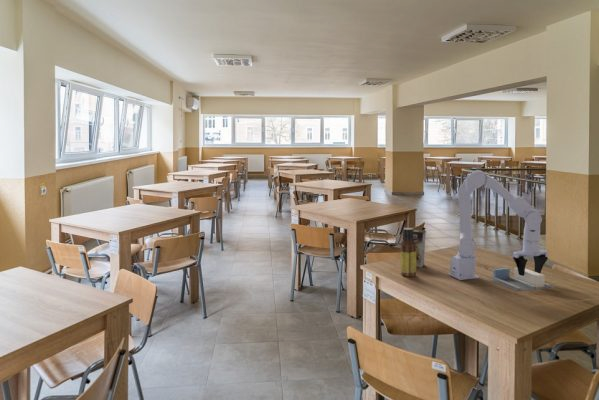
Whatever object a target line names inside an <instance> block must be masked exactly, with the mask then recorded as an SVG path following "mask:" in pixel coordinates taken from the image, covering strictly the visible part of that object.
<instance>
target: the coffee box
mask: <svg viewBox="0 0 599 400" xmlns="http://www.w3.org/2000/svg"><path fill="white" fill-rule="evenodd" d="M426 234H427V231H426V230H425V229H423V230H422V229H414V228H413V240H414V242H415V243H416V268H422V267H423V266H425V254H426V253H425V249H426ZM403 239H404V232H403V231H402V240H403Z"/></svg>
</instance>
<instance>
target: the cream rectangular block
mask: <svg viewBox="0 0 599 400" xmlns="http://www.w3.org/2000/svg"><path fill="white" fill-rule="evenodd" d="M513 277H514V278H516V279H519V280H521V281H524V282H526V283H529V284H531V285H534V286H536V288H537V287H544V283H546V282H545V281H546V275H544V274H542V273H537V272H535V270H534V271H533V270H531V269H529V268H526V267H525V273H524V276H521V275H519V273H518V268H517V267H514V274H513Z"/></svg>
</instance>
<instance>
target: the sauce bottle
mask: <svg viewBox="0 0 599 400" xmlns="http://www.w3.org/2000/svg"><path fill="white" fill-rule="evenodd" d="M413 229H414V228H413V227H404V228H403V229H402V233H403V232H404V239H403V238H402V241H401V243H400V272H401V273H400V274H401V276H404V277H415V276H417V267H416V243H415V242H414V240H413Z"/></svg>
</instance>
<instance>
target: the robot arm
mask: <svg viewBox="0 0 599 400" xmlns="http://www.w3.org/2000/svg"><path fill="white" fill-rule="evenodd" d="M482 186H483V188H485V189H490V190H492V191H494V192H495V193H496V194H497V195H499V196H500V197H501V198H503V199H504V200H505V201H507V207H508V208H509V209H511V211H513V212H514V213H515V214H517V216H518V217H520V218H523V220H524V221H525V222H524V228H523V237H522V238H523V239H522V250H518V251H513V254H512V259H513V261H514V263H515V265H516V268H518V273H519V275H521V276H524V273H525V268H526V265H527V262H528V259H526V258H527V257H533V260H534V261H533V262H534V272H537V273H540V274H542V270H543V267H544V265H545V264H546V262H547V260H548V259H549V258H548V254H549V251H548V250H546V249H540V244H541V243H540V241H541V223H542V221H543V218H542V214H541V213H540V212H539V210H538V209H536V207H535V206H534V205H531V204H529V203H528V202H527V201H526V200H525V197H524V196H520V195H513V194H512V193H511V192H510V191H509V190H507V189H506V188H505V187H504V186H503V185H502V184H501V183H500V182H499V181H497V179H495V178H494V177H492V176H491V175H488V174H486V173H485V172H484V171H483V170H481V169H475V170H473V171H471V173H470V174H468V175H467V176H466V177H465V179H464V180H463V181H462V184H461V185H460V186H459V188H458V191H457V193H458V195H457V196H458V212H459V213H458V214H459V231H460V234H459V244H458V247H457V253H456V255H455V256H452V257H451V258H450V262H449V265H450V266H449V273H448V275H449V276H451V277H453V278H455V279H456V280H460V281H461V280H462V281H463V280H469V279H470V280H471V279H480V276H479V275H476V264H477V263H476V259H477V255H476V253H475V251H476V250H475V249H476V242H475V240H474V236H473V225H472V223H473V222H472V202H471V201H472V200H471V194H473V192H474V191H475V190H477V189H479V188H481V187H482Z"/></svg>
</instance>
